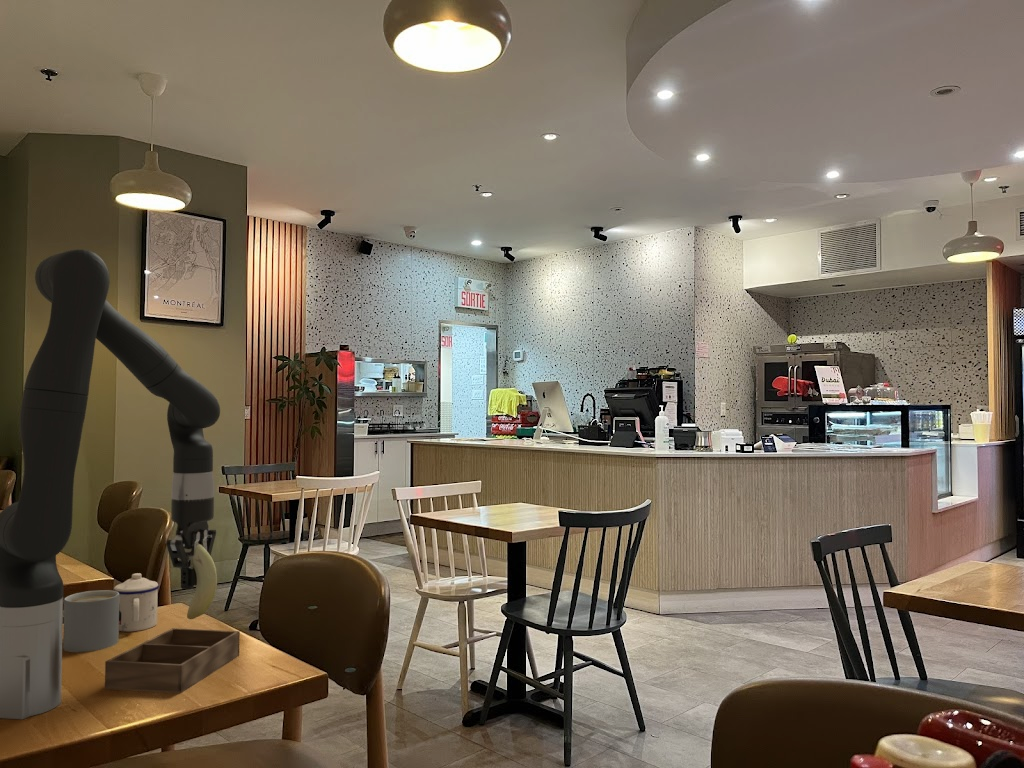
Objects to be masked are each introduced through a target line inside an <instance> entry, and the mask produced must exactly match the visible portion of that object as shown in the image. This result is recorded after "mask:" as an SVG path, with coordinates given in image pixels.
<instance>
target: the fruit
mask: <svg viewBox="0 0 1024 768" xmlns="http://www.w3.org/2000/svg"><path fill="white" fill-rule="evenodd" d="M166 548H167V547H166ZM184 549H185V548H184ZM167 550H168V548H167ZM191 551H192V548H191V549H185V552H191ZM187 559H188V562H189V557H188V556H187ZM193 563H194V569H195V571H196V576H197V585H195V586H196V587H195V589H194V594H193V597H192V599H191V601H190V604H189V605H188V606H189V607H188V609H187V613H186V617H187V619H189V620H194V619H197V618H199V617H200V616H203V615H204V614H205V613H206V612H207V611H208V610H209V608H210V606H211V604H212V602H213V601H214V599H215V596H216V595H215V594H216V592H217V585H218V575H217V567H216V564H215V562H214V560H213V557H212V556H210V554H209V553H208V552H207V550H206V549H205V548H204V547H203V546H202V545H200V544H199V543H198V545H197V548H196V553H195V556H193Z"/></svg>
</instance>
